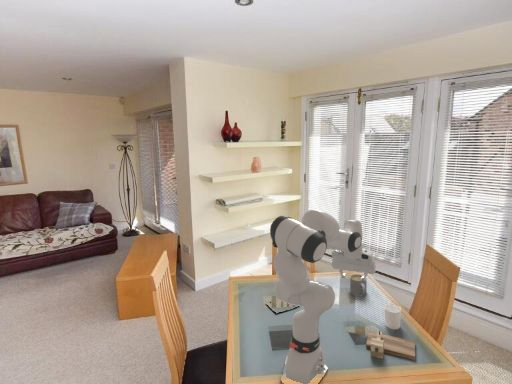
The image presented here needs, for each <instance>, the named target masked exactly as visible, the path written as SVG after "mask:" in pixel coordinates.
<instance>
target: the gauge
mask: <svg viewBox="0 0 512 384" xmlns="http://www.w3.org/2000/svg"><path fill="white" fill-rule="evenodd" d="M377 333H378V334H377V339H375V338H372V340H371V349H370V357H374V358H378V359H381V360H383V359H384V353H385V352H384V341H383V340H381V335H382V334H383V331H380V330H377Z"/></svg>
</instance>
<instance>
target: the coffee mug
mask: <svg viewBox="0 0 512 384" xmlns="http://www.w3.org/2000/svg"><path fill="white" fill-rule="evenodd" d="M362 276H364V274H358V273H357V274H356V273H355V274H351V275H350V277H349V286H350V287H349V288H350V289H349V290H350V291H351V292H350V291H349V292H350V294H351V295H353V294H354V296H356V295H357V296H358V297H363V296H366V295H367V288H368V287H367V277H366V278H365V281H362Z"/></svg>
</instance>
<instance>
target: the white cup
mask: <svg viewBox="0 0 512 384" xmlns="http://www.w3.org/2000/svg"><path fill="white" fill-rule="evenodd" d="M383 309H384V320H385V326H386V327H387V328H388V329H390V330H399V329H400V328H401V327H400V326H401V319H402V308H401V307H400V306H398V305H396V304H385V305H384V308H383Z"/></svg>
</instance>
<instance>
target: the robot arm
mask: <svg viewBox="0 0 512 384" xmlns="http://www.w3.org/2000/svg"><path fill="white" fill-rule="evenodd" d="M340 228H341V227H340V223H339V222H338V220H337V219H336V218H335V217H334V216H332V215H331V214H329V213H328V212H326V211H323V210H320V209H317V208H316V209H315V208H314V209H313V208H311V209H309V210H307V211H306V212H305V213H304V214H303V216H302V219H301V222H300V221H298V220H296V219H293V218H292V217H290V216H286V215H279V216H277V217H276V218H275V219H273V221H272V222H271V224H270V229H269V233H270V239H271V240H272V246H273V247H274V248H277V249H278V251H277V253H276V254H275V256H274V258H273V267H274V271H275V273H276V276H277V278H278V279H277V282H276V283H275V286H274V293H275V296H276V298H277V300H281V301H283V302H286V303H288V304H293V305H298V306H300V307H303V308H304V309H300V310H298V311H297V312H295V313H294V314H293V316H292V320H291V324H292V327H291V328H292V332H291V339H290V340H291V341H290V343H289V350H288V353H287V354H286V357H285V361H284V364H285V365H286V377H287V378H289V379H291V380H293V381H296V382H300V383H303V384H308V383H310V381H311V380H312V379H313V378H314V377H315V376H316V375H317V374H324V373H325V372H326V371H327V370H328V371H329V367H328V365H326V363H325V355H324V350H323V348H322V347H321V345H320V344H321V338H320V333H319V325H320V323H319V321H320V318H321V316H322V315H323V314H324V313H325V312H326V311H328V310H330V309H331V308H332V307H333V306H334V304H335V301H336V292H335V290H334V288H333V287H332V286H331V285H329V284H327V283H324V282H321V281H316V280H311V275H310V273H309V270H308V268H307V267H306V265H305V263H304V262H307V263H311V264H315V263H317V262H319V261H320V260H321V259H322V258H323V257H324V255H325V253H326V251H327V250H332V251H331V258H332V262H331V267H332V269H335V270H339V271H338V272H339V273H340V275H341V278H342V279H346V273H344V272H343V271H348V272H356V273H363V276H362V281H365V278H366V279H367V276H368V274H369V275H374V274H375V273H376V269H377V268H376V262H375V258H374V257H373V256H374V254H373V251H371V250H369V249H366V248H365V247H364V245H363V243H362V242H363V238H364V237H363V227H362V223H361V221H359V220H357V219H345V220H344V222H343V229H340ZM323 369H324V370H323Z"/></svg>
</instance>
